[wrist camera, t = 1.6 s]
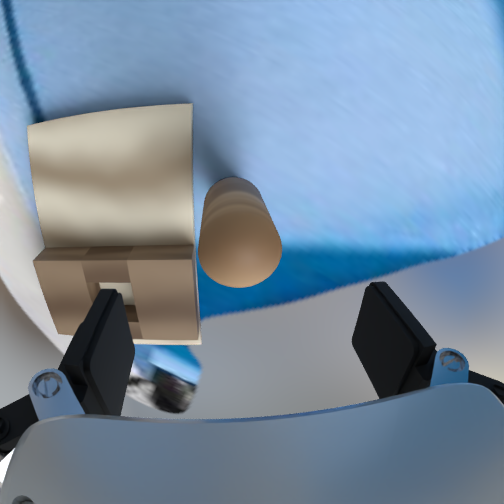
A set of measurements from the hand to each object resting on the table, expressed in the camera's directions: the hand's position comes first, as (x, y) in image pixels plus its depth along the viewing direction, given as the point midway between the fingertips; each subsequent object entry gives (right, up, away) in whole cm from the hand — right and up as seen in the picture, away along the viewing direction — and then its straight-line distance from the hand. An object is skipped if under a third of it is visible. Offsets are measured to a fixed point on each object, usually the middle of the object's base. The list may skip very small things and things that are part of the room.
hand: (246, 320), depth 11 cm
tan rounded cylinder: (-1, +7, +13) cm, 15 cm away
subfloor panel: (-12, +4, +13) cm, 18 cm away
